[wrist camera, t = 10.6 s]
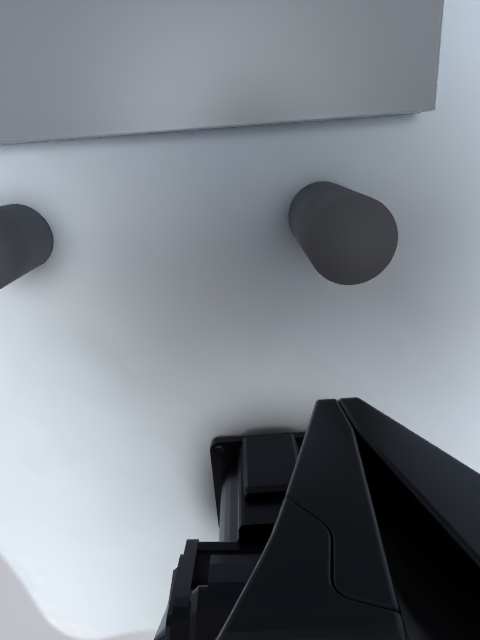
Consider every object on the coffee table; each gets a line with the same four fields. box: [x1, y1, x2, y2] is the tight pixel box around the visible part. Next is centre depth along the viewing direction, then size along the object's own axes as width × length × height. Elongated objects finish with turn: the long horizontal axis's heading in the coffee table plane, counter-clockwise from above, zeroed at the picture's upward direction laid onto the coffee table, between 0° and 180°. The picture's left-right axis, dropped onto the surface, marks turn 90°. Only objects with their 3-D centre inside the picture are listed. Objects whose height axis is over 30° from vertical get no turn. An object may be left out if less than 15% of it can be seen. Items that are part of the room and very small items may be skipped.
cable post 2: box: [288, 182, 398, 285], centre depth 18 cm, size 3×3×6 cm
